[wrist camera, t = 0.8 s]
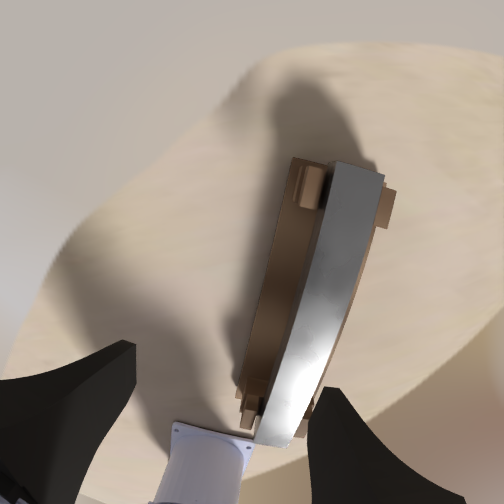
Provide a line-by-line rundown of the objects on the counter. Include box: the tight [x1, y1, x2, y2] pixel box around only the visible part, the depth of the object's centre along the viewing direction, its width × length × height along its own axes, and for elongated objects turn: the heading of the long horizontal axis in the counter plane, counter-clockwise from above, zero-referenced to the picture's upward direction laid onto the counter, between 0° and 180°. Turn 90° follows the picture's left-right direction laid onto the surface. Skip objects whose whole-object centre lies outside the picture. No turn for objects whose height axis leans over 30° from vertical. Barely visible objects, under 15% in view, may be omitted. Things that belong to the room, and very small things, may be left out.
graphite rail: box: [253, 161, 385, 448], centre depth 16 cm, size 18×2×2 cm, turn 168°
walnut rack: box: [235, 157, 397, 438], centre depth 18 cm, size 18×6×5 cm, turn 168°
